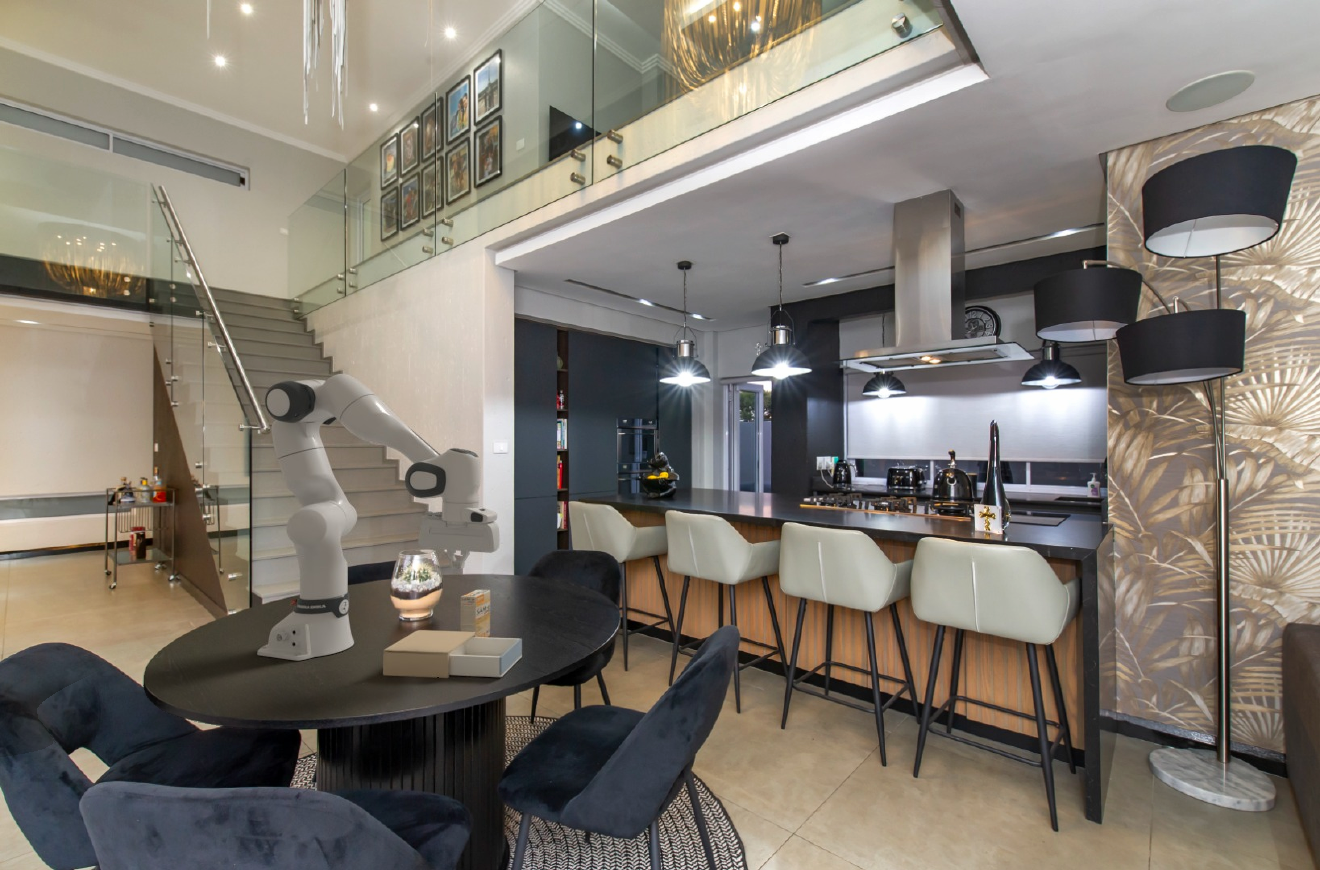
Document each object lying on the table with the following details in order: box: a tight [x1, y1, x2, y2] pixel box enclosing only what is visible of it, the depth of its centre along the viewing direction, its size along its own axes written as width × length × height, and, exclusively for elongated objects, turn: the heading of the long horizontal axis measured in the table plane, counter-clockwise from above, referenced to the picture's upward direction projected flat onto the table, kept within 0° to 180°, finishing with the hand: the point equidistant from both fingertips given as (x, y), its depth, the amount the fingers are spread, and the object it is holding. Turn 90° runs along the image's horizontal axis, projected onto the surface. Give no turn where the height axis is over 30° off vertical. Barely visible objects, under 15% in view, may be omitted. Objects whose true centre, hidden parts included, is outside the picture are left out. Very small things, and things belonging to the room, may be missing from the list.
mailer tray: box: [449, 637, 523, 678], centre depth 139 cm, size 15×13×4 cm
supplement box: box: [460, 589, 491, 638], centre depth 158 cm, size 8×5×13 cm, turn 168°
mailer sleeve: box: [382, 629, 476, 679], centre depth 140 cm, size 16×15×6 cm
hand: (457, 568), depth 144 cm, fingers closed
